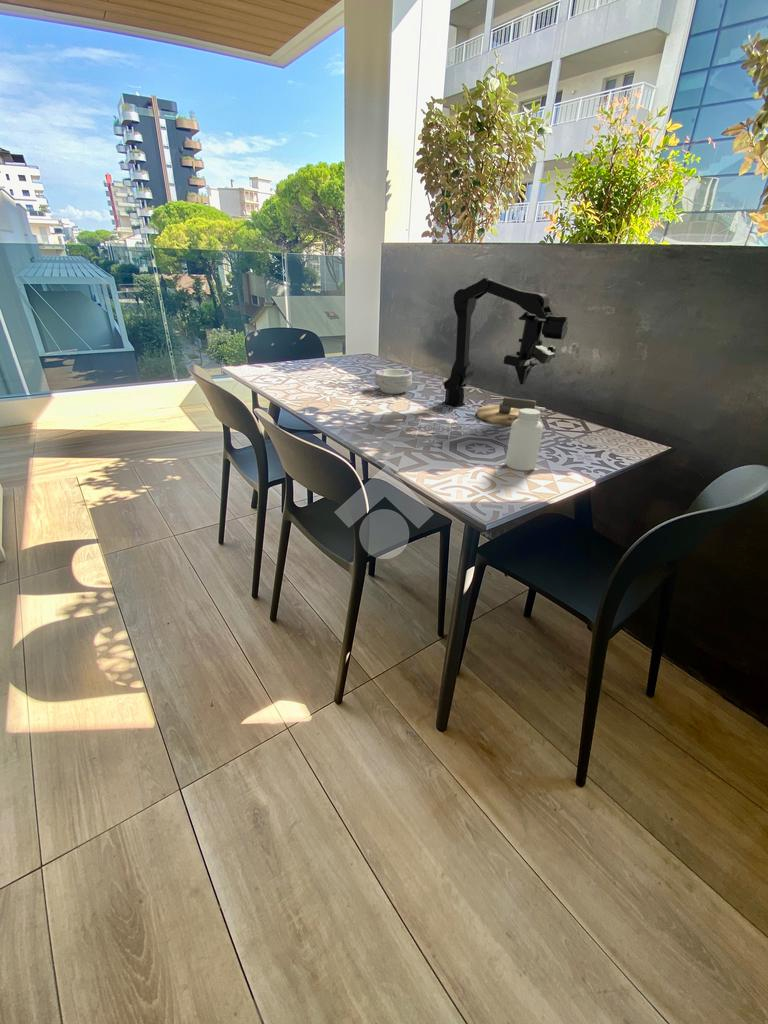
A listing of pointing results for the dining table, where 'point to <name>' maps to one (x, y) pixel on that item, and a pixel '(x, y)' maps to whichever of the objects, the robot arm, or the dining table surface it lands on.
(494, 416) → the dial board
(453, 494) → the dining table surface
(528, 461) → the pill bottle
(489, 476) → the dining table surface
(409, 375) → the white stone bowl
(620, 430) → the dining table surface
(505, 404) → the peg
